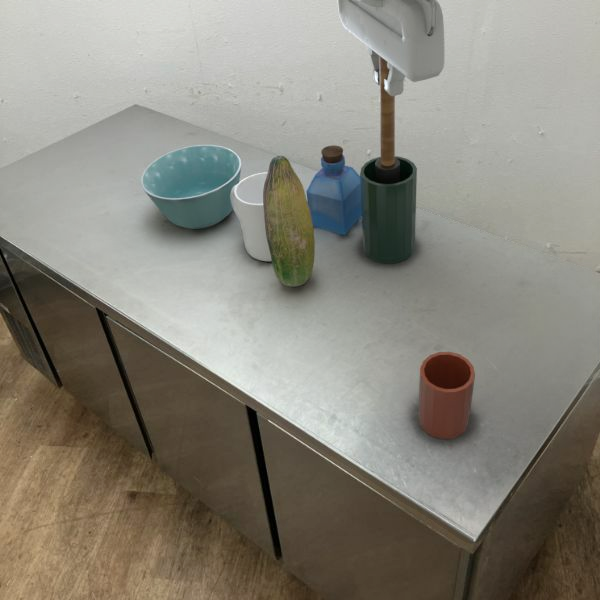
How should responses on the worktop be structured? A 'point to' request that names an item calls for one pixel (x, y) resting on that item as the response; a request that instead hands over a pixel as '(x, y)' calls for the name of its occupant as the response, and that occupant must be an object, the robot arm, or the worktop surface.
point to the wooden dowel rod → (387, 134)
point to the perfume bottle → (335, 193)
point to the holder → (445, 394)
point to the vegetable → (288, 224)
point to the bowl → (193, 184)
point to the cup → (388, 213)
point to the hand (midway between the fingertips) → (387, 88)
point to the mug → (252, 214)
